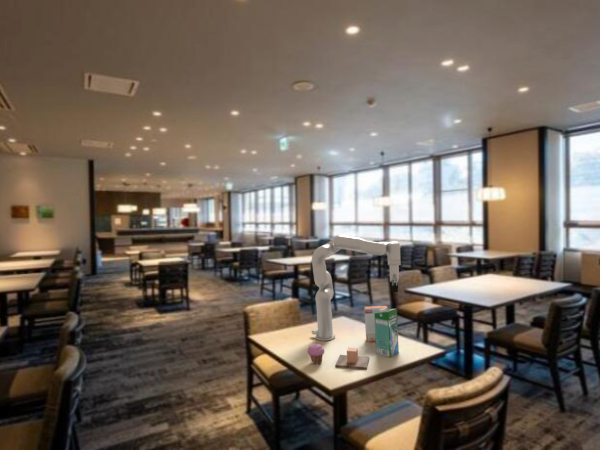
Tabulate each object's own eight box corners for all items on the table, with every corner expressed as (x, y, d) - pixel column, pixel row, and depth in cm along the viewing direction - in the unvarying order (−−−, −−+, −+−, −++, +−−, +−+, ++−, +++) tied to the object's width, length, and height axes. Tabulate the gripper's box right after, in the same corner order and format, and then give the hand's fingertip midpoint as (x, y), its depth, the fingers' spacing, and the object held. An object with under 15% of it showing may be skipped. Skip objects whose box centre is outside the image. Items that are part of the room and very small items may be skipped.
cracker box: (388, 338, 224) (386, 305, 224) (389, 342, 218) (388, 307, 218) (365, 338, 226) (364, 305, 225) (366, 342, 220) (365, 308, 219)
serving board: (335, 367, 185) (335, 364, 185) (340, 356, 198) (340, 354, 198) (366, 369, 180) (366, 367, 180) (369, 358, 194) (369, 356, 194)
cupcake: (327, 364, 189) (326, 345, 189) (311, 367, 187) (310, 348, 186) (321, 358, 198) (320, 340, 197) (306, 361, 195) (305, 342, 195)
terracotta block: (347, 362, 188) (346, 350, 188) (348, 358, 193) (348, 347, 193) (356, 362, 186) (356, 351, 186) (358, 359, 191) (357, 348, 191)
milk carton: (384, 348, 207) (382, 305, 207) (398, 352, 201) (396, 308, 200) (376, 353, 201) (374, 309, 201) (390, 357, 194) (388, 311, 194)
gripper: (388, 260, 227) (389, 287, 227) (387, 264, 211) (388, 293, 211) (400, 260, 225) (401, 287, 225) (400, 264, 208) (401, 293, 209)
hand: (395, 290), depth 218 cm, fingers open, 9 cm apart
